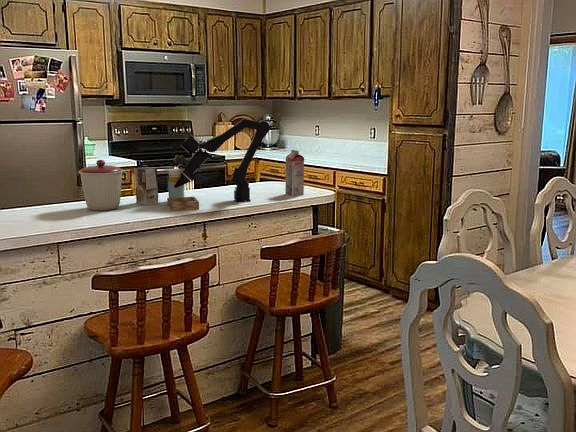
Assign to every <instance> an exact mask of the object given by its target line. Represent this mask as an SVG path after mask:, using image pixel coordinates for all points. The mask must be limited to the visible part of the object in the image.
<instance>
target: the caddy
mask: <svg viewBox="0 0 576 432" xmlns="http://www.w3.org/2000/svg"><path fill="white" fill-rule="evenodd" d="M166 201H167V205H166V206H167V208H168V209H169V210H170V212H175V211H177V212H179V211H194V210H200V201H199V200H198V199H197V198H196V197H195V196H184V197H176V198H169V197H167V199H166Z"/></svg>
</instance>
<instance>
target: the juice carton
mask: <svg viewBox="0 0 576 432" xmlns="http://www.w3.org/2000/svg"><path fill="white" fill-rule="evenodd" d="M284 189H285V195H287V194H288V196H291V197H294V196H295V197H296V196H297V197H298V196H305V195H304V194H305V193H304V190H305V156H303V155H301V154H300V153H299V150H297V149H291V151H290V153H289V154H287V155H286V156H285V188H284Z"/></svg>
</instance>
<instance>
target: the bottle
mask: <svg viewBox="0 0 576 432" xmlns="http://www.w3.org/2000/svg"><path fill="white" fill-rule="evenodd" d="M180 172H181V173H183V172H182V169H178V168H177V169H176V168H170V169H168V180H167V184H168V185H167V186H168V188H167V189H168V198H176V197H185V184H184V185H182V186H179V187H177V188H175V187H174V185H175V184H176V182H177V181H178V179H179V178H180Z"/></svg>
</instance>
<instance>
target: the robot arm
mask: <svg viewBox="0 0 576 432" xmlns="http://www.w3.org/2000/svg"><path fill="white" fill-rule="evenodd" d="M245 129H251V130H255V131H254V134H253V138H252V140H251V142H250V144H249V145H248V148H247V150H246V152H245V154H244V156H243V158H242V160H241V162H240V164H239V165H238V166H234V168H233V170H232V172H231V181H232V183H233V184H234V185H235V187H234V191H233V199H234V200H235V201H236V202H251V201H252V200H251V198H250V192H251V191H250V189H251V188H250V182H249V181H248V180H247V179H246V176H247V172H248V168H249V166H250V164H251V163H252V161H253V158H254V156H255V154H256V152H257V150H258V148H259V146H260V144H261V142H262V141H263V140H264V138H265V137H266V136H267V134H268V133H269V132H270V130H271V126H270V123H269V122H268V121H267V120H264V119H263V120H259V121H258V120H253V119H248V118H241V120H240V121H239V122H237V123H236V124H234V125H232V126H231V127H229V128H228V129H226V131H224V132H223V133H220V134H218V135H217V136H214V137H212V138H209V139H208V140H206V141H204V142H199V141H198V140H197V139H196V138H195V137H194V136H193V135H192V134H190V135H189V136H188V137H187V138H186V139H184V141H182V143H181V144H180V147H182V148H183V149H184V150H185V151H186V152H187V153H188V154H192V156H191V157H188V158H186V157H185V156H184V155H178V154H175V157H174V158H173V162H174V163H175V164H178V165H177V166H176V168H175V169H182V172H183V173H181V172H180V178H179V179H178V181H177V182H176V184H175V185H174V187H175V188H177V187H179V186H182V185H184V186H185V185H187V184H188V183H191V182H194V181H195V179H196V175H195V173H196V172H197V171H198V170H200V169H201V166H203V164H204V163H206V161H207V160H209V161H213V154H210V153H215V152H216V151H218V149H220V147H222V146H223V144H224V143H226V142H227V141H229V139H231V138H233V137H234V136H235V135H237V134H238V133H240V132H242V131H243V130H245ZM203 150H204V151H203Z"/></svg>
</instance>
